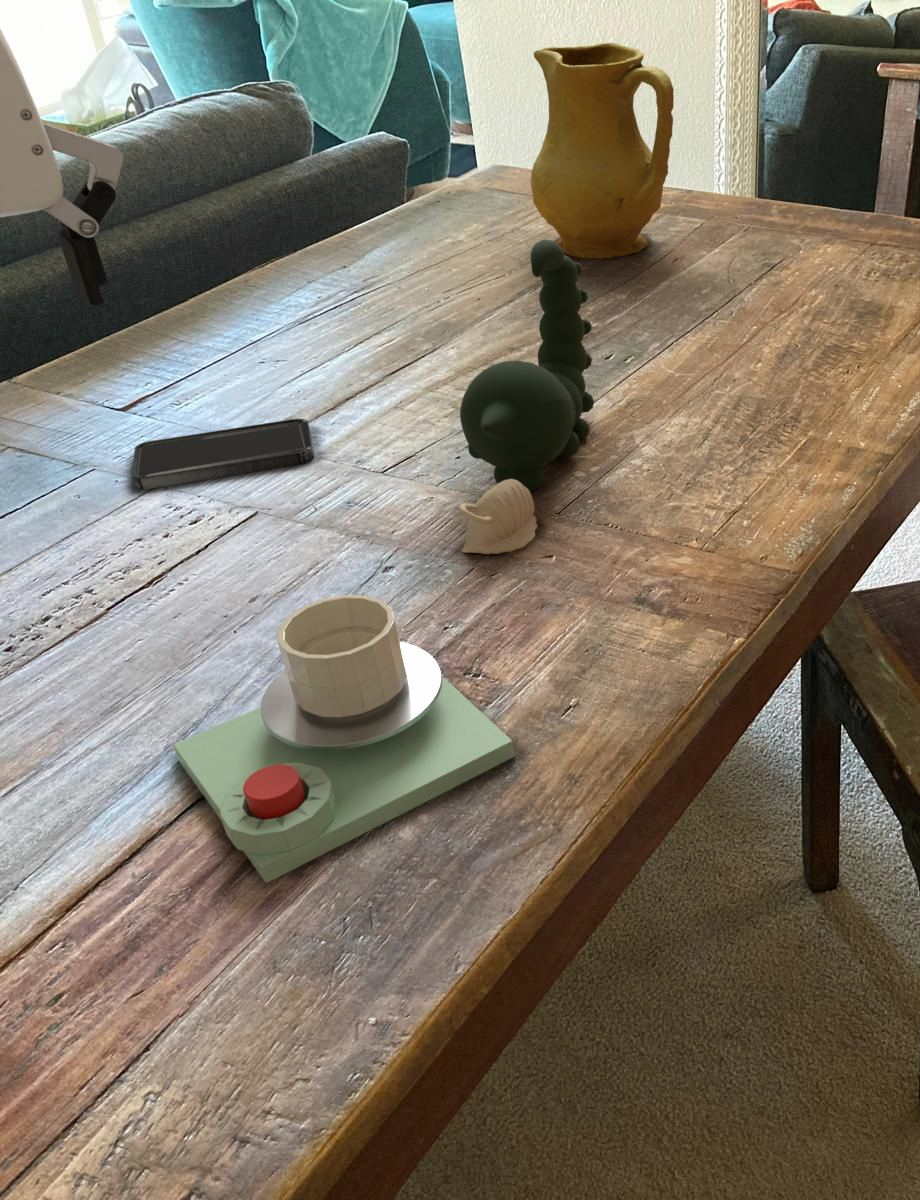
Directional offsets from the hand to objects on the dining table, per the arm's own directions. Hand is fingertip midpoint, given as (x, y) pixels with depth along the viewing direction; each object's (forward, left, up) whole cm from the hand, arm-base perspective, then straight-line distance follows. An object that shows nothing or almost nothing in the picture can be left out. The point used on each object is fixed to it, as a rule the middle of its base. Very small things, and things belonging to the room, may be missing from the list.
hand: (1, 318), depth 69 cm
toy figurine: (+39, +9, -26) cm, 48 cm away
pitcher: (+79, +57, -26) cm, 101 cm away
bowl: (+9, -17, -22) cm, 29 cm away
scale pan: (+9, -17, -23) cm, 29 cm away
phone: (+17, +28, -26) cm, 42 cm away
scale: (+7, -19, -26) cm, 32 cm away
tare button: (+1, -23, -23) cm, 32 cm away
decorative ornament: (+28, -2, -26) cm, 38 cm away
